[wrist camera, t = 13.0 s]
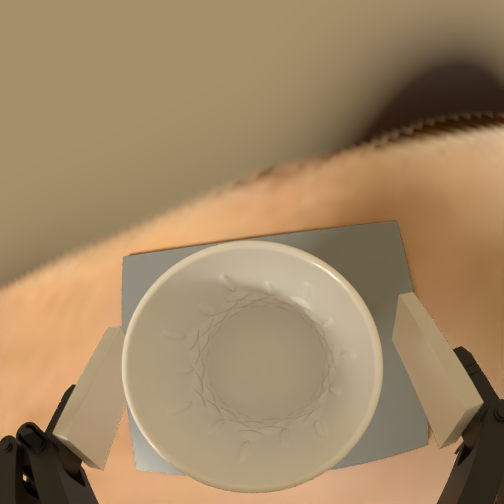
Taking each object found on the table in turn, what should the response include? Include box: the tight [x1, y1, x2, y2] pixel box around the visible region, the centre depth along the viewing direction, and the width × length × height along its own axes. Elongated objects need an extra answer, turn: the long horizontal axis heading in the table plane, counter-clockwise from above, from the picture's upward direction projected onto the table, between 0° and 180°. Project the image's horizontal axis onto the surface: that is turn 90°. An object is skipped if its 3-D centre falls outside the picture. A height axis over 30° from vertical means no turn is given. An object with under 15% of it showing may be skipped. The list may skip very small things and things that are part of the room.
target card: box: [122, 220, 428, 476], centre depth 17 cm, size 20×16×1 cm
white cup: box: [122, 240, 383, 493], centre depth 12 cm, size 8×8×10 cm
